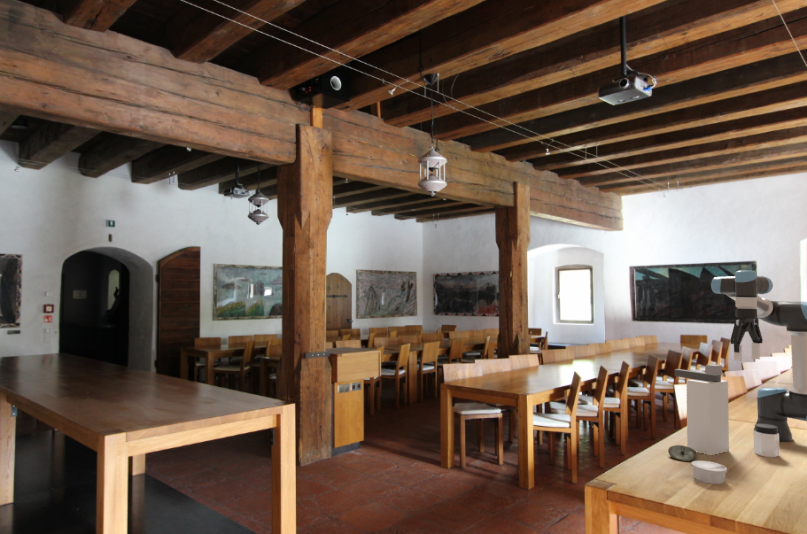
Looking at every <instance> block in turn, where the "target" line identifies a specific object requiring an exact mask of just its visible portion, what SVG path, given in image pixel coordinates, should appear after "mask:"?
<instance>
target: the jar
mask: <svg viewBox="0 0 807 534" xmlns="http://www.w3.org/2000/svg"><path fill="white" fill-rule="evenodd" d="M754 427H755V431H754V430H753V453H754V454H756V455H758V456H762V457H767V458H773V457H775V458H777V456H778V457H780V441H779V433H778V427H776V426H774V425H769V424H756V423H755V424H754Z"/></svg>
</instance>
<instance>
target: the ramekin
mask: <svg viewBox="0 0 807 534" xmlns="http://www.w3.org/2000/svg"><path fill="white" fill-rule="evenodd" d="M691 467H692V473H693V476H694V478H695V480H697V481H699V482H702V483H705V484H710V485H722V484H723V483H724V482H725V480H726V476H727V475H726V474H727V472H728V468H727V467H726V466H725V465H723V464H720V463H718V462H713V461H709V460H692V461H691Z"/></svg>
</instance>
